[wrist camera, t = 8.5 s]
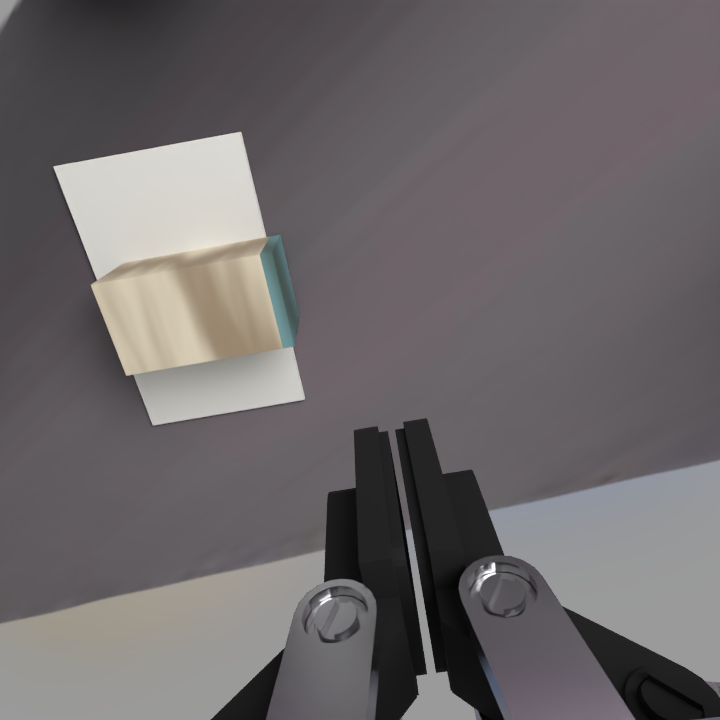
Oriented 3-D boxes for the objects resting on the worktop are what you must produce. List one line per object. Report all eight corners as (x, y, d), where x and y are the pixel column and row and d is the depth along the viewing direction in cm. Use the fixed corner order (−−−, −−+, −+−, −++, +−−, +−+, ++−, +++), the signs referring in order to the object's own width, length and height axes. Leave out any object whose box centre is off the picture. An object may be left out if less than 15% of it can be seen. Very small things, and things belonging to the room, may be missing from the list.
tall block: (271, 252, 26) (90, 284, 26) (294, 346, 28) (126, 375, 28) (280, 234, 30) (124, 262, 30) (299, 317, 32) (152, 343, 32)
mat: (241, 131, 28) (240, 132, 27) (305, 397, 34) (304, 399, 34) (56, 166, 28) (53, 166, 28) (154, 423, 35) (152, 425, 34)
